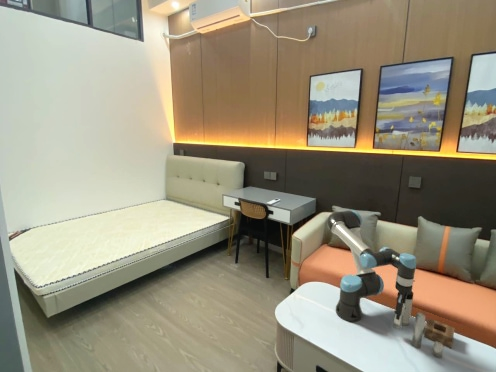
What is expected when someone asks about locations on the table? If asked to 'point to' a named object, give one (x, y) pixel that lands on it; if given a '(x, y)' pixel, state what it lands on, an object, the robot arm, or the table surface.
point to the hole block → (439, 332)
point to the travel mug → (407, 309)
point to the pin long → (418, 330)
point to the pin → (401, 319)
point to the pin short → (437, 349)
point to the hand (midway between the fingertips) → (398, 321)
